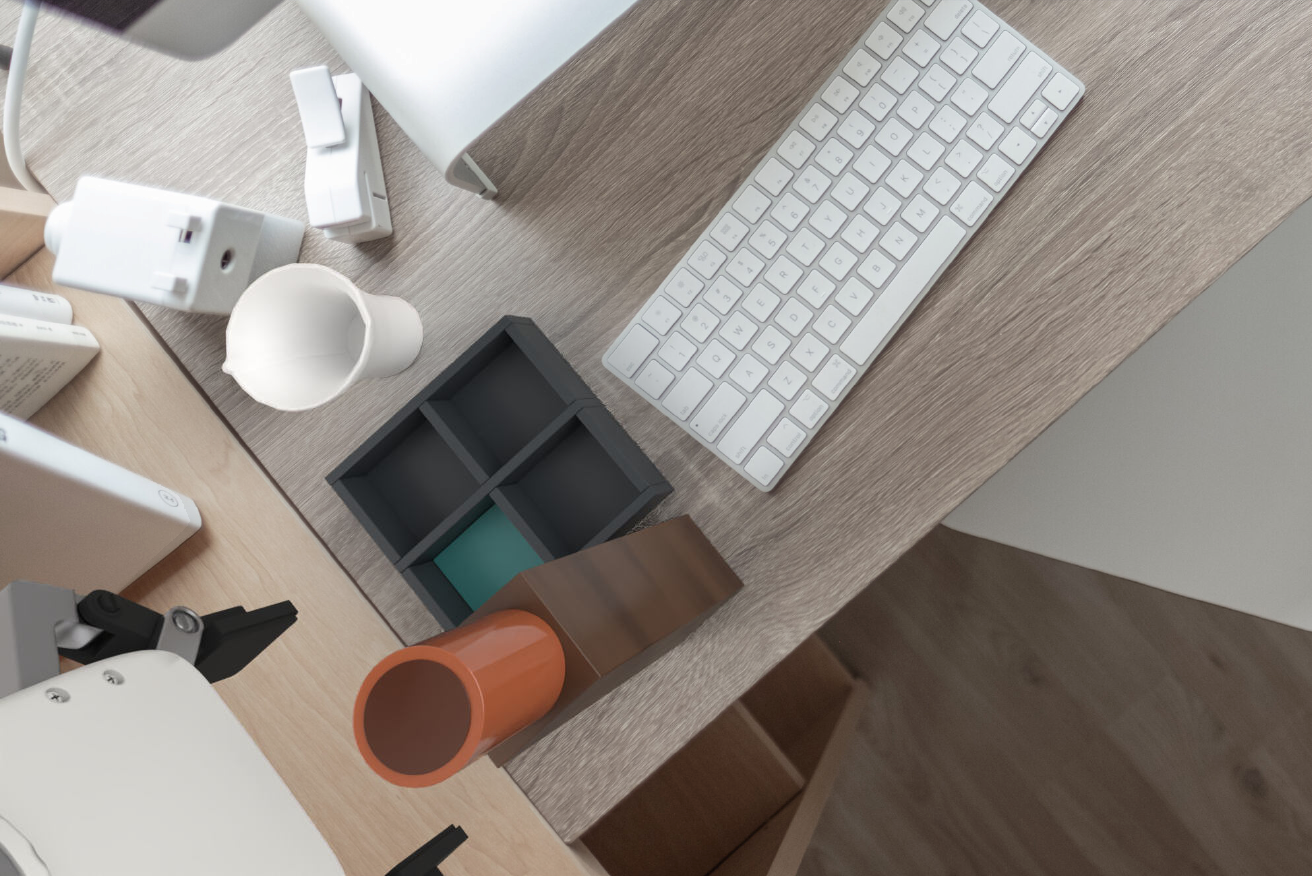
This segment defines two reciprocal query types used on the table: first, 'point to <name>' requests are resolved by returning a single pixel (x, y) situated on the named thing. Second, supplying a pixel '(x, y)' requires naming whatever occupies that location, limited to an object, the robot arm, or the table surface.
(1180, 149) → the table surface
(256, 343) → the cup
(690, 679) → the table surface
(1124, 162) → the table surface
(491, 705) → the tumbler
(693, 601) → the brown wooden block
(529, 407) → the divided tray
